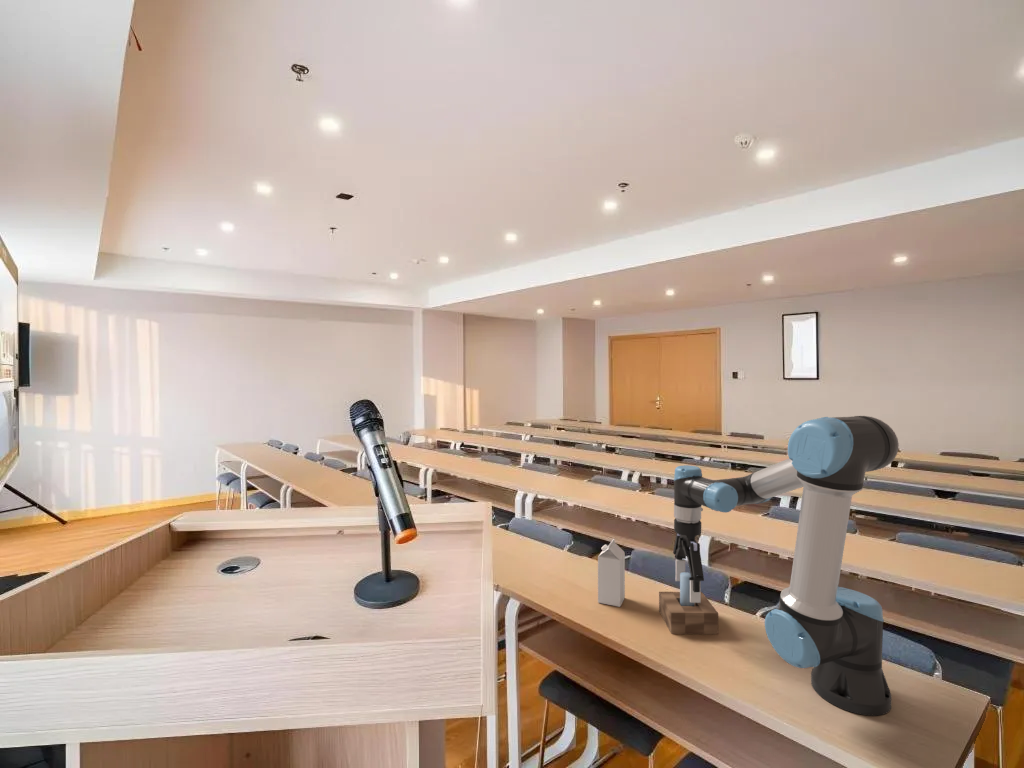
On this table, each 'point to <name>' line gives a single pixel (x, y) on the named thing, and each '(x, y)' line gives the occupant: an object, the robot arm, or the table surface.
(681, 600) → the peg
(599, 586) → the milk carton
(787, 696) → the table surface
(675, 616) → the socket block
